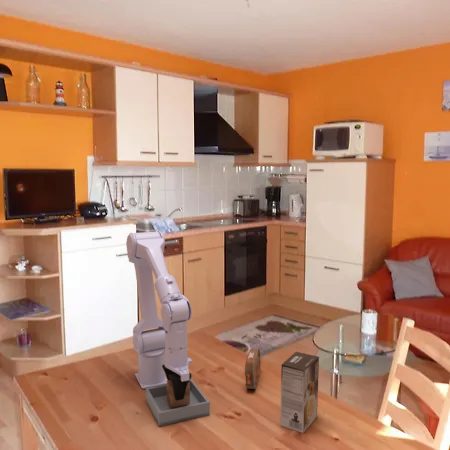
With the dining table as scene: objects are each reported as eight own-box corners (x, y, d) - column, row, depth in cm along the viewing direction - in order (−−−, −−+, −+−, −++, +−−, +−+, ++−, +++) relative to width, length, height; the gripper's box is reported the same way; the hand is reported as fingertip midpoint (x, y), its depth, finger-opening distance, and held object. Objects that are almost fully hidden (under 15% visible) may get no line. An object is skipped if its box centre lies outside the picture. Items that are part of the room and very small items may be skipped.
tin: (254, 394, 124) (254, 366, 123) (243, 393, 125) (243, 365, 124) (261, 370, 139) (261, 344, 138) (251, 369, 140) (251, 343, 139)
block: (166, 400, 118) (166, 380, 117) (184, 396, 120) (184, 377, 119) (171, 407, 115) (171, 387, 114) (189, 403, 117) (189, 383, 116)
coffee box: (294, 408, 117) (296, 350, 115) (317, 416, 114) (320, 356, 112) (279, 426, 109) (280, 363, 107) (304, 434, 106) (306, 370, 104)
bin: (145, 400, 121) (145, 388, 120) (192, 391, 126) (191, 379, 126) (159, 426, 109) (159, 413, 108) (209, 414, 114) (209, 402, 114)
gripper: (200, 353, 110) (201, 405, 112) (182, 333, 123) (182, 380, 125) (173, 358, 107) (174, 411, 109) (157, 337, 120) (157, 385, 122)
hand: (176, 395), depth 117 cm, fingers closed on block, 4 cm apart
